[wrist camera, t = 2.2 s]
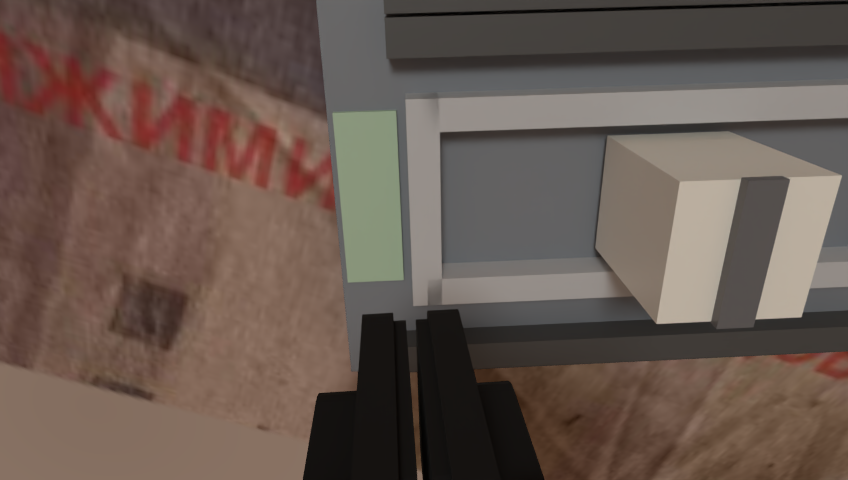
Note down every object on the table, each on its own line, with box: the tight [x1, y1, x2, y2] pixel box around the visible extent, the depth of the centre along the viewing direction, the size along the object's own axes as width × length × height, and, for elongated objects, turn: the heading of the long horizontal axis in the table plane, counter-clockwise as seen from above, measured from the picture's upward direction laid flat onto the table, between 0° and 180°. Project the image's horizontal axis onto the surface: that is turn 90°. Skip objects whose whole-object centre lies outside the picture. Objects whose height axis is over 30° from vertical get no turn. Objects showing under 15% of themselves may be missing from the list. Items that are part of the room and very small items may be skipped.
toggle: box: [595, 131, 842, 329], centre depth 16 cm, size 4×4×5 cm
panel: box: [316, 0, 848, 372], centre depth 19 cm, size 22×14×3 cm, turn 91°
